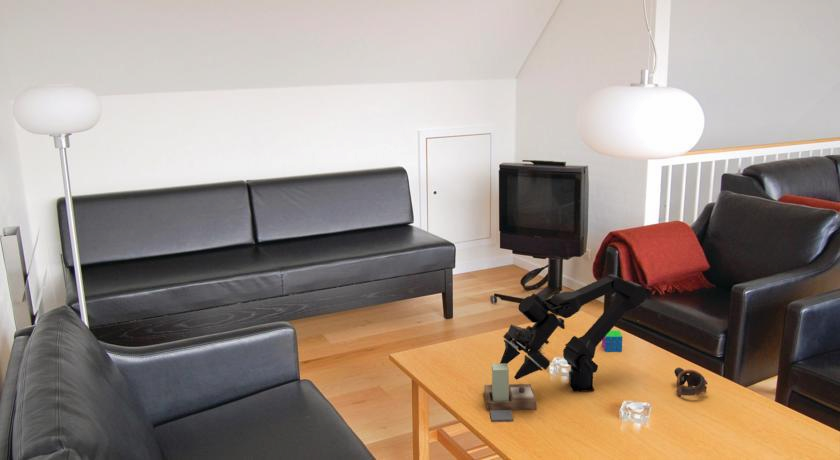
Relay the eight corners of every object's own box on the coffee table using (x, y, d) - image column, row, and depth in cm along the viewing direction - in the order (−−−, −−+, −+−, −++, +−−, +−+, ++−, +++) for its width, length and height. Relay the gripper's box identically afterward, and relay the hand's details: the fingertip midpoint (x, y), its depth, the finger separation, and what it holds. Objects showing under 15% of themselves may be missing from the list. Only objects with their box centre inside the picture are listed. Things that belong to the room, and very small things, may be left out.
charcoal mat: (510, 411, 198) (510, 409, 198) (513, 421, 193) (513, 419, 193) (489, 412, 198) (489, 410, 198) (491, 421, 193) (491, 419, 193)
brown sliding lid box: (530, 391, 210) (530, 378, 209) (536, 409, 199) (536, 396, 198) (484, 392, 210) (484, 380, 209) (487, 410, 199) (487, 397, 198)
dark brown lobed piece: (716, 396, 205) (713, 379, 200) (691, 414, 203) (688, 397, 198) (686, 372, 214) (683, 355, 209) (662, 389, 213) (659, 372, 208)
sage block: (507, 401, 205) (506, 363, 202) (508, 408, 200) (508, 369, 198) (492, 401, 205) (491, 363, 202) (493, 408, 200) (493, 370, 198)
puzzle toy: (621, 352, 237) (622, 336, 236) (605, 352, 237) (605, 336, 236) (618, 345, 243) (618, 330, 241) (601, 345, 243) (602, 330, 242)
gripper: (509, 305, 208) (476, 345, 206) (540, 326, 191) (505, 369, 189) (531, 326, 212) (499, 366, 211) (564, 348, 195) (530, 391, 194)
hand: (507, 372), depth 201 cm, fingers open, 9 cm apart
